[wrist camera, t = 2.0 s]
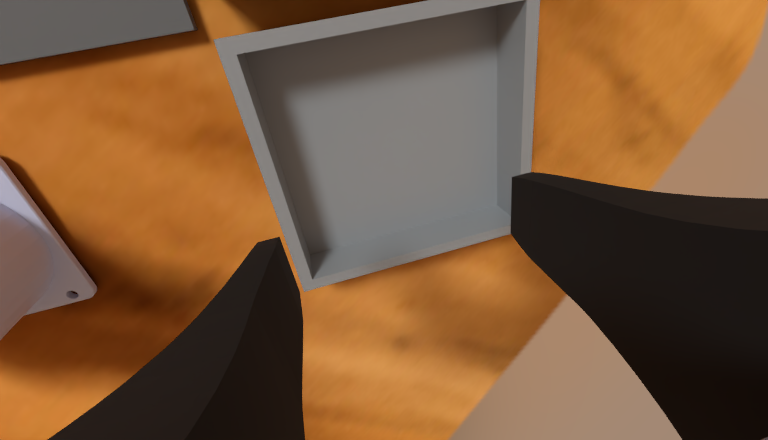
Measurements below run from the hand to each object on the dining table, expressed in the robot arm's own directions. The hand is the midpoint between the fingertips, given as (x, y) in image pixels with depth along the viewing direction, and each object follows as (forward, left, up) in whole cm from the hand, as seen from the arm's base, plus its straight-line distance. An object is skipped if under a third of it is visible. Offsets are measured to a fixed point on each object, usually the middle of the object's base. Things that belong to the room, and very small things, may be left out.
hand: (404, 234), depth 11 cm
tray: (+2, 0, -9) cm, 10 cm away
